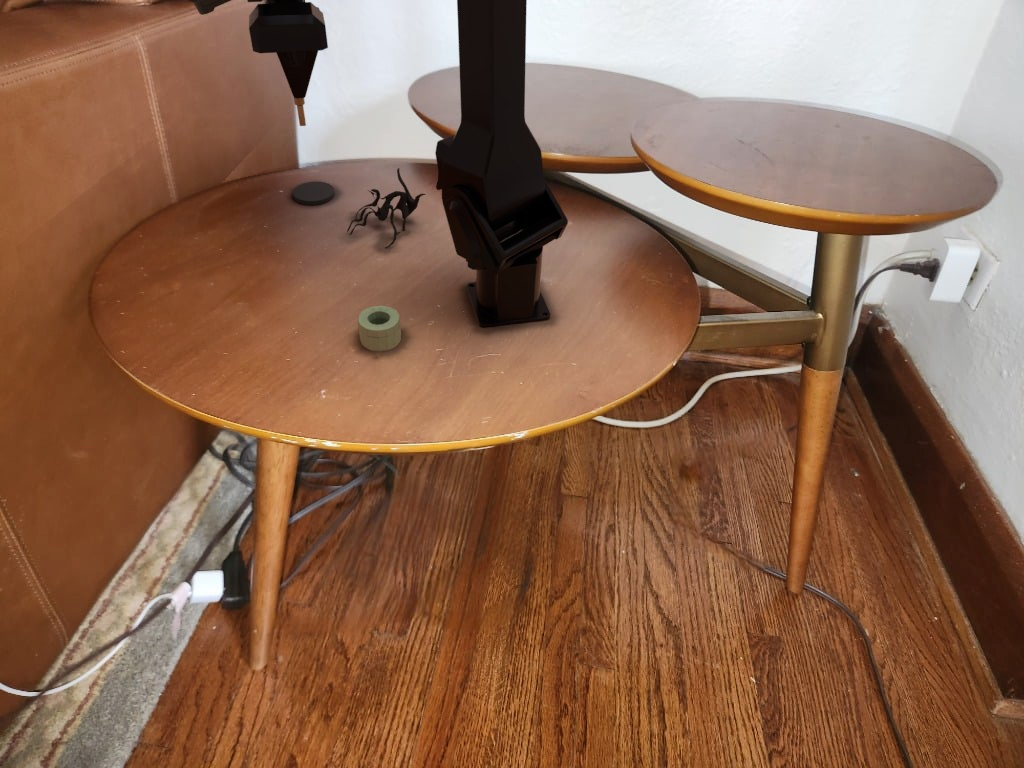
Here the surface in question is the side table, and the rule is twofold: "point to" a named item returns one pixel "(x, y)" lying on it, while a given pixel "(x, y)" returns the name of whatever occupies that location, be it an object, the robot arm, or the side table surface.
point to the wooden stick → (300, 110)
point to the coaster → (313, 193)
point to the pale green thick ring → (379, 328)
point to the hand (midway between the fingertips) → (299, 95)
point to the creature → (390, 207)
